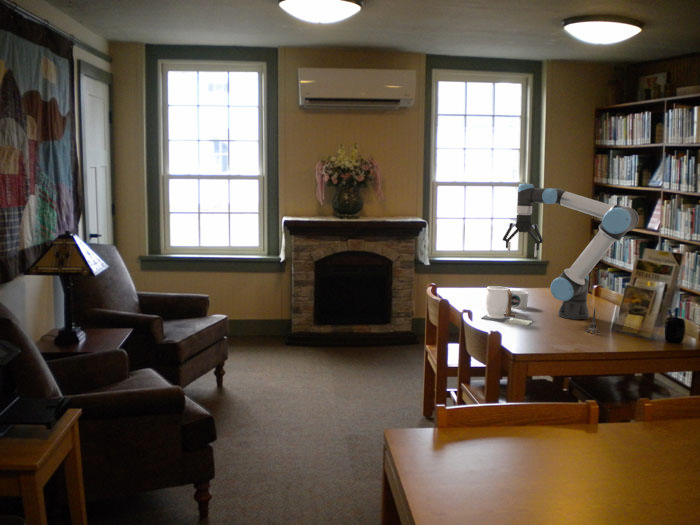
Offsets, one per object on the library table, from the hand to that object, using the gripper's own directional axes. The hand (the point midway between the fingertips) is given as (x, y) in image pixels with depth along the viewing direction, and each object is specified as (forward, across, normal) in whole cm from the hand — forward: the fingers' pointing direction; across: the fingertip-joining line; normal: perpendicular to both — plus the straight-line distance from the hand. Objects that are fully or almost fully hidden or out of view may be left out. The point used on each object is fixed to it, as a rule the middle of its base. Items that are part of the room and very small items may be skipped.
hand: (521, 255), depth 364 cm
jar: (+29, +7, +21) cm, 37 cm away
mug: (+30, +5, -15) cm, 34 cm away
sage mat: (+30, -6, +23) cm, 38 cm away
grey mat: (+30, +7, +21) cm, 37 cm away
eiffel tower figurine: (+31, -39, +26) cm, 56 cm away
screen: (+30, +5, +4) cm, 30 cm away
